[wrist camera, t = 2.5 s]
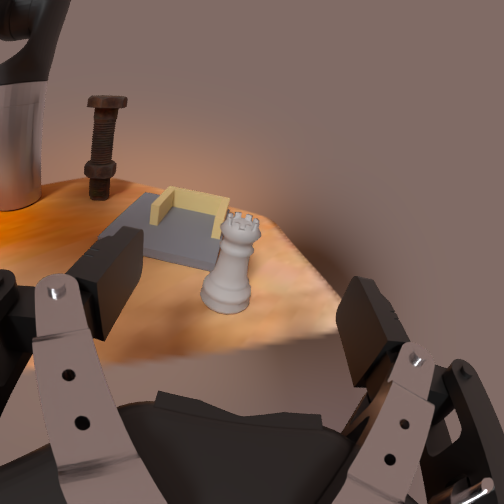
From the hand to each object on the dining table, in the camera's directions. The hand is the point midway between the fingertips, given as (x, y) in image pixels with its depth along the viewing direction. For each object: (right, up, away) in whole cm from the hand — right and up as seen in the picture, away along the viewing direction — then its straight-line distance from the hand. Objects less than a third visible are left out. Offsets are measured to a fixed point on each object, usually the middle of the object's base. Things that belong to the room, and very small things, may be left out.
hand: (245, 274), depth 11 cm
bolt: (-22, +9, +27) cm, 36 cm away
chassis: (-10, +4, +25) cm, 27 cm away
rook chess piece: (-2, -4, +15) cm, 16 cm away
